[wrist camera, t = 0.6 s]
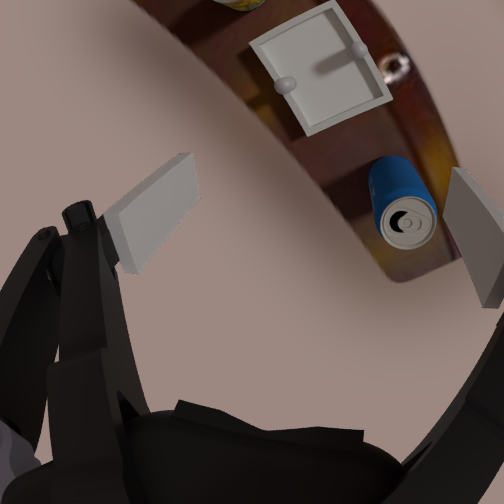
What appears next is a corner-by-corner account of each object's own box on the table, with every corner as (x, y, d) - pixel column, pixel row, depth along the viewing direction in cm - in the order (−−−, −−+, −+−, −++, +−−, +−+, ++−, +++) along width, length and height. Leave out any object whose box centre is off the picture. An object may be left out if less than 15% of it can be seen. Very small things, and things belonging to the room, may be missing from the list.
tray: (253, 43, 30) (240, 41, 26) (334, 2, 25) (333, -7, 21) (309, 132, 35) (305, 143, 31) (390, 97, 30) (398, 102, 26)
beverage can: (369, 150, 34) (380, 188, 25) (419, 157, 33) (446, 197, 23) (365, 198, 38) (370, 249, 29) (411, 203, 37) (431, 256, 27)
